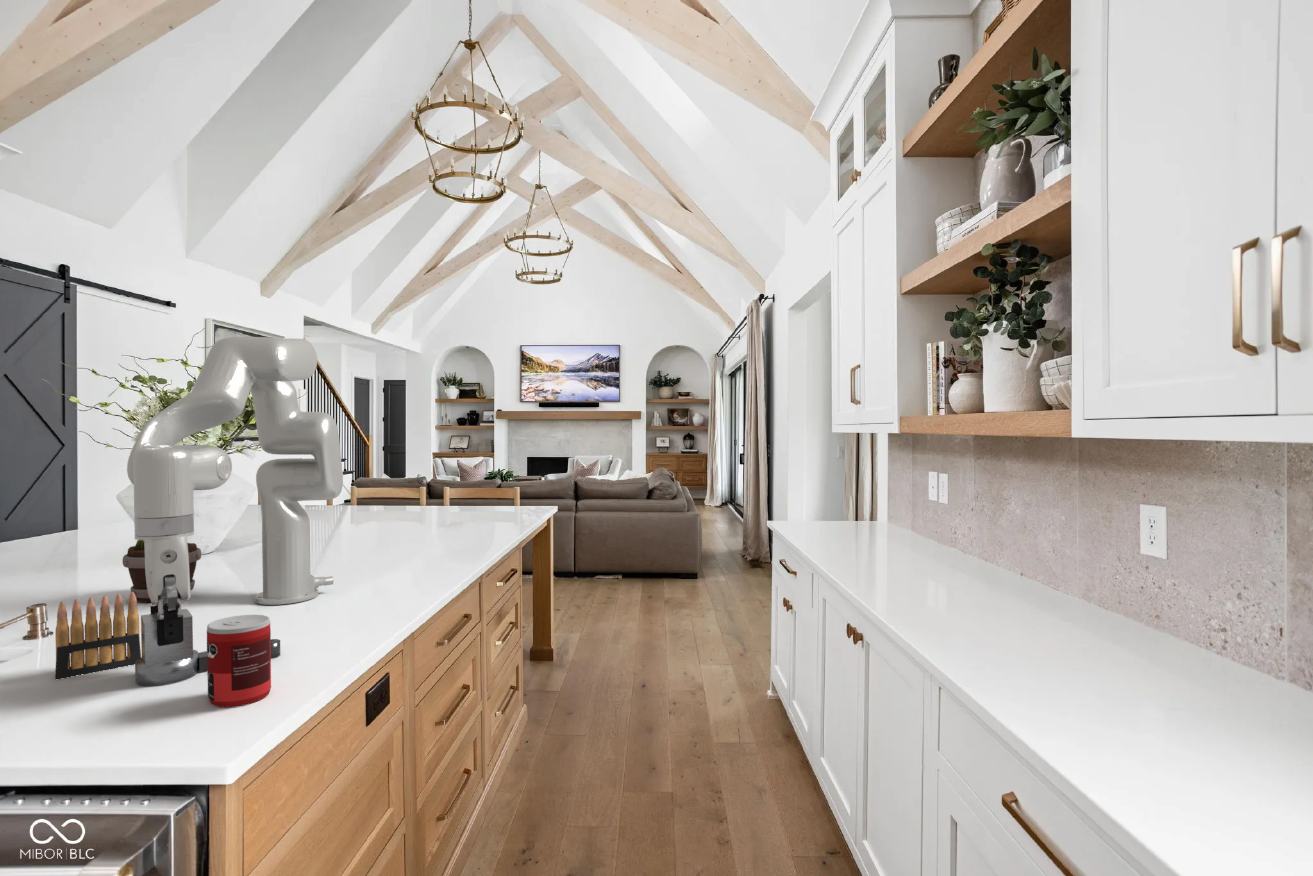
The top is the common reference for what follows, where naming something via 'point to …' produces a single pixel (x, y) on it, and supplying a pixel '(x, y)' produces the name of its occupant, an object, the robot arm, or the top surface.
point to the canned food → (238, 660)
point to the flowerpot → (137, 568)
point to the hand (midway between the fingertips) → (166, 636)
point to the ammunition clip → (96, 638)
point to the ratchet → (180, 668)
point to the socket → (165, 653)
